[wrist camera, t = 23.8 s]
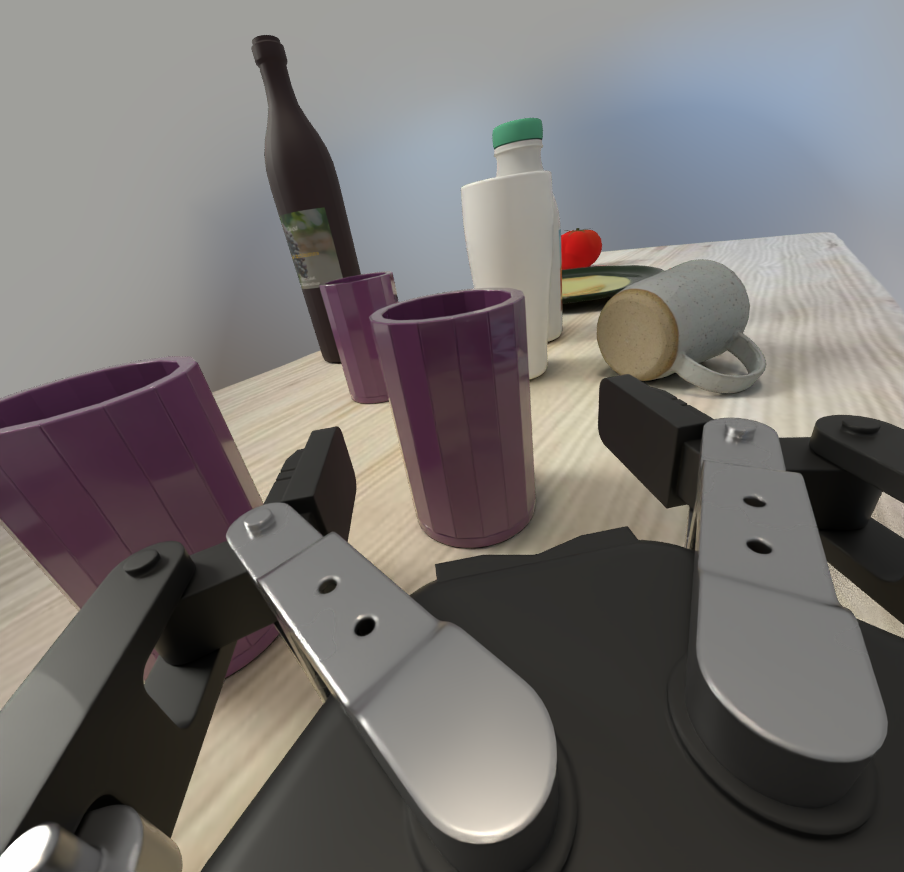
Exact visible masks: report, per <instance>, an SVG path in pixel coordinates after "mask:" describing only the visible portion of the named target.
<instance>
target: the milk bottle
mask: <svg viewBox="0 0 904 872" xmlns="http://www.w3.org/2000/svg"><path fill="white" fill-rule="evenodd" d="M492 136H493V147H494V150H495V151H494V153H495V154H494V157H496V159H497V174H496V177H500V176H505V175H511V174H517V173H524V172H532V171H544V170H543V167H542V162H541V156H540V155H541V154H540V151H541V148H542V147H543V145H542V137H543V128H542V121H541V120H540V119H538V118H525V119H519V120H514V121H510V122H507V123H504V124H501V125H499V126H497V127H496V128H495V129H494V130H493V135H492ZM553 224H554V226H553V254H552V271H551V287H550V304H549V322H548V342H549V341H551V340H554V339H556V338H558V337H559V336H560V334H561V332H562V260H561V229H560V218H559V211H558V207H557V204H556V200H555V198H554V195H553Z"/></svg>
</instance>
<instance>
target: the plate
mask: <svg viewBox="0 0 904 872" xmlns="http://www.w3.org/2000/svg"><path fill="white" fill-rule="evenodd" d="M661 272H664V270H662V269H659V268H655V267H649V266H638V265H631V266H594V267H582V268H573V269H565V270H562V304H565V303H575V302H584V301H591V300H597V299H603V298H608V297H613V296H614V295H616V294H617V293H619V292H620V291H622V290H623V289H625V288H626V287H628V286H630V285H632V284H634V283H636V282H639V281H641V280H643V279H646V278H649V277H652V276H654V275H656V274H659V273H661Z"/></svg>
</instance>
